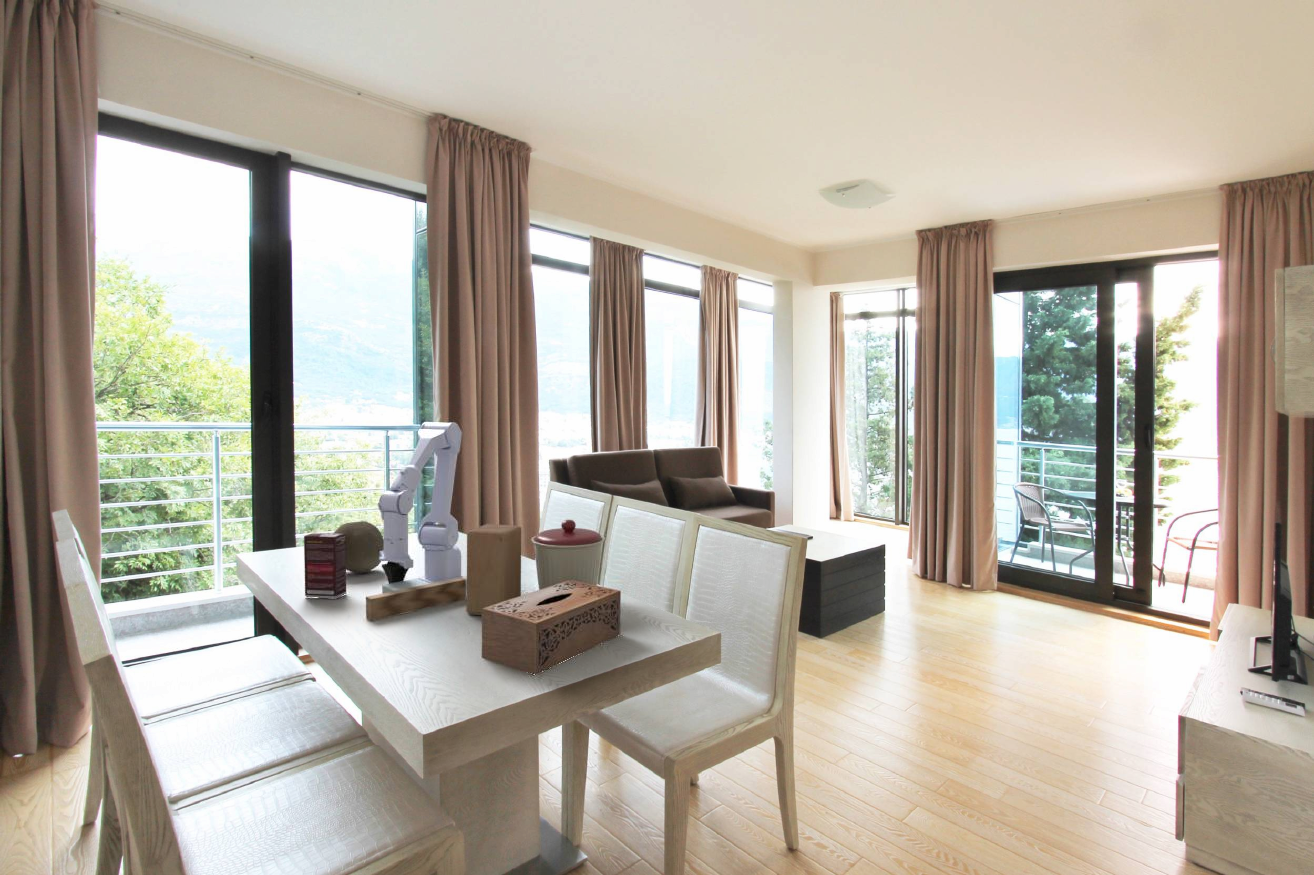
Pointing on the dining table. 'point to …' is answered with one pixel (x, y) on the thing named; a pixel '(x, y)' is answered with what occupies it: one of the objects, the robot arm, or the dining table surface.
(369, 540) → the cantaloupe
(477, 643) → the dining table surface
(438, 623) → the dining table surface
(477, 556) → the wooden block
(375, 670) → the dining table surface
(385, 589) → the block
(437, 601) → the board
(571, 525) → the canister
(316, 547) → the supplement box
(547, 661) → the tissue box cover
